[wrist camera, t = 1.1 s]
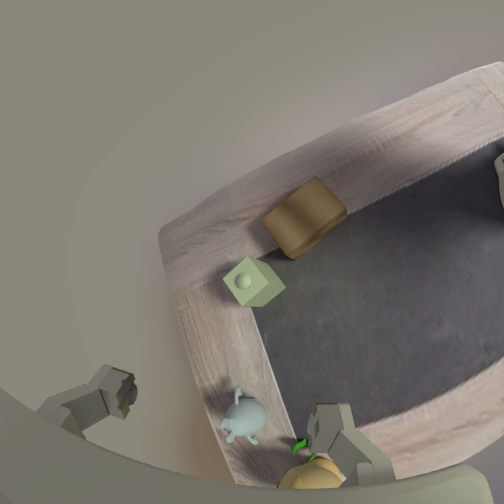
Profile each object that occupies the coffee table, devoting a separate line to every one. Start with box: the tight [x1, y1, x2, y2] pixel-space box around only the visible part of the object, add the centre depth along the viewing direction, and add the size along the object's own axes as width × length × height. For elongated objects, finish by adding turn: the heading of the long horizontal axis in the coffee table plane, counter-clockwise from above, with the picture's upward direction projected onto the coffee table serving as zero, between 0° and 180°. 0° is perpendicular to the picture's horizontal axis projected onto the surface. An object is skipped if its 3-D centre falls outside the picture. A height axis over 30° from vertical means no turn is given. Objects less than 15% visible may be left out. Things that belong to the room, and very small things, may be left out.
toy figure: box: [221, 386, 267, 445], centre depth 37 cm, size 11×6×12 cm, turn 18°
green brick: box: [223, 256, 286, 307], centre depth 42 cm, size 5×5×8 cm
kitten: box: [277, 439, 346, 489], centre depth 29 cm, size 15×10×15 cm, turn 31°
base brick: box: [261, 175, 348, 260], centre depth 43 cm, size 11×7×5 cm, turn 124°
